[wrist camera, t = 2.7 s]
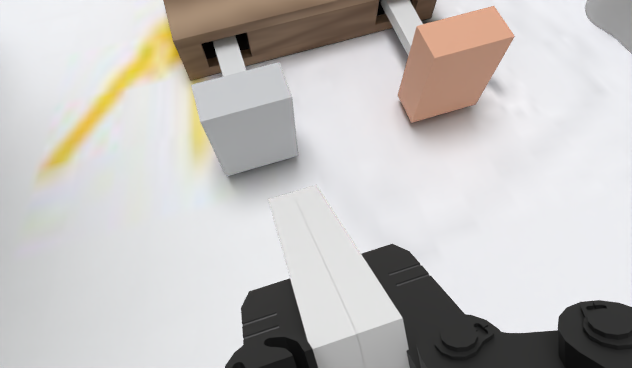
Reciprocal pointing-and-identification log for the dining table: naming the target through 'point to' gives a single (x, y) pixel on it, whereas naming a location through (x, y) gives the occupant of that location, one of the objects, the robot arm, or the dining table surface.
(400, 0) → the peach rectangular block
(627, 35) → the lumpy-topped squat cylinder
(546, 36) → the dining table surface
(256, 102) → the grey plunger
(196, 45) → the plunger housing
